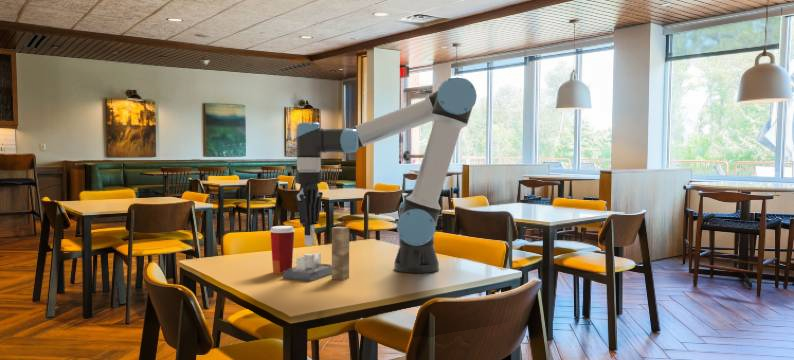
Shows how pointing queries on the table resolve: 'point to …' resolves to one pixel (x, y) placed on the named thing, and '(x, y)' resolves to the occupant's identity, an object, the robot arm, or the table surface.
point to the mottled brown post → (340, 253)
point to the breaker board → (308, 269)
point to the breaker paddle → (310, 260)
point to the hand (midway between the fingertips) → (309, 245)
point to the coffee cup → (282, 247)
